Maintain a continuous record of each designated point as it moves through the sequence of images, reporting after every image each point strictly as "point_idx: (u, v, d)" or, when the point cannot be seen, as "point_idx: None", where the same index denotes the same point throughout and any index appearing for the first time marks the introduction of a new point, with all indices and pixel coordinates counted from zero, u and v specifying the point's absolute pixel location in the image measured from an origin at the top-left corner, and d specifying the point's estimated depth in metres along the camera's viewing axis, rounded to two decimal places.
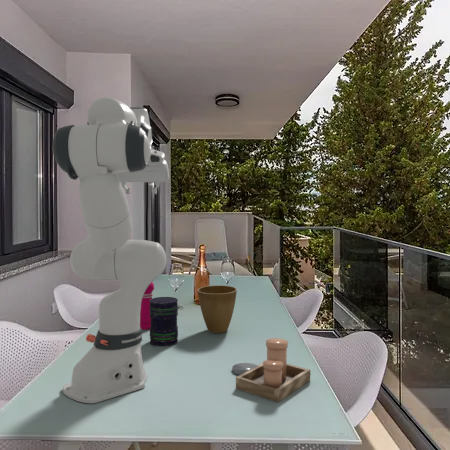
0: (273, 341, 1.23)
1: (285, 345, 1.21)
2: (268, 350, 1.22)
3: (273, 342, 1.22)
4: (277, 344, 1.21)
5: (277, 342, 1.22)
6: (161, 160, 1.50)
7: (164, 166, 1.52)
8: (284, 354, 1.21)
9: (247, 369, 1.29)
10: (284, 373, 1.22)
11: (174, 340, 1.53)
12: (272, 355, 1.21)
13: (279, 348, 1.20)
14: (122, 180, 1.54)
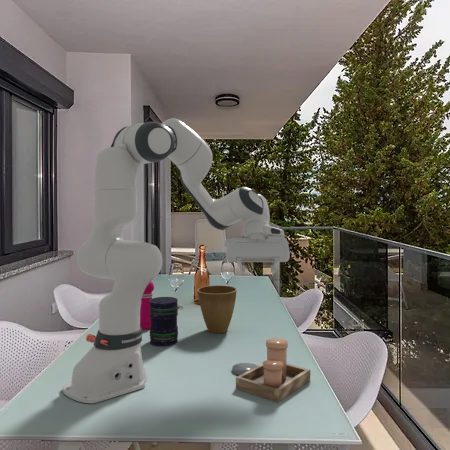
0: (273, 341, 1.23)
1: (285, 345, 1.21)
2: (268, 350, 1.22)
3: (273, 342, 1.22)
4: (277, 344, 1.21)
5: (277, 342, 1.22)
6: (282, 232, 1.42)
7: (285, 239, 1.41)
8: (284, 354, 1.21)
9: (247, 369, 1.29)
10: (284, 373, 1.22)
11: (174, 340, 1.53)
12: (272, 355, 1.21)
13: (279, 348, 1.20)
14: (239, 253, 1.39)
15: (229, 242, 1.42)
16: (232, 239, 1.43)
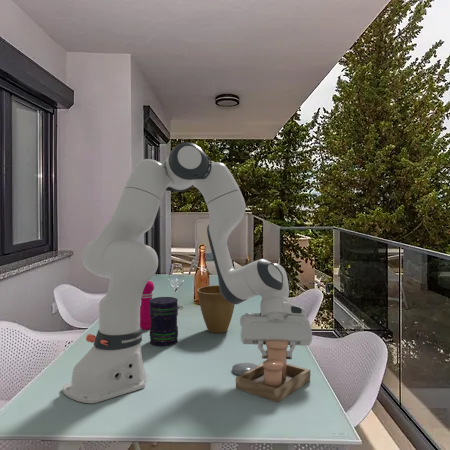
0: (273, 341, 1.23)
1: (285, 345, 1.21)
2: (268, 350, 1.22)
3: (273, 342, 1.22)
4: (277, 344, 1.21)
5: (277, 342, 1.22)
6: (303, 312, 1.28)
7: (307, 320, 1.27)
8: (284, 354, 1.21)
9: (247, 369, 1.29)
10: (284, 373, 1.22)
11: (174, 340, 1.53)
12: (272, 355, 1.21)
13: (279, 348, 1.20)
14: (256, 336, 1.25)
15: (245, 321, 1.28)
16: (248, 318, 1.29)
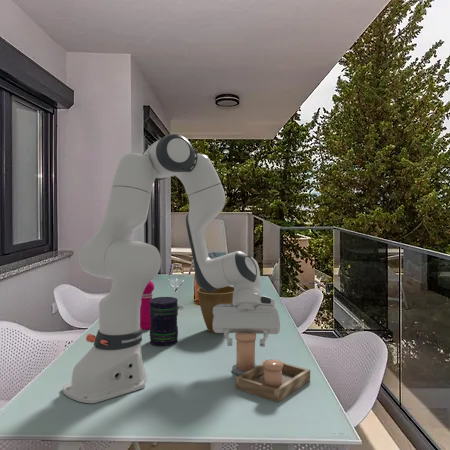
0: (242, 334, 1.30)
1: (253, 337, 1.27)
2: (237, 342, 1.29)
3: (242, 335, 1.28)
4: (245, 336, 1.27)
5: (246, 334, 1.29)
6: (273, 302, 1.35)
7: (275, 310, 1.34)
8: (252, 346, 1.28)
9: None
10: (252, 364, 1.28)
11: (174, 340, 1.53)
12: (241, 347, 1.27)
13: (247, 340, 1.27)
14: (226, 324, 1.32)
15: (216, 311, 1.35)
16: (220, 308, 1.36)
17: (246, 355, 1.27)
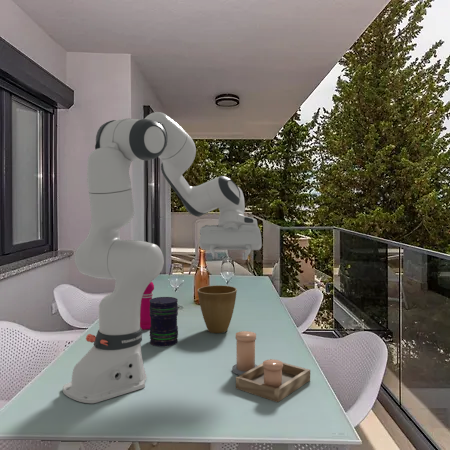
0: (242, 334, 1.30)
1: (253, 337, 1.27)
2: (237, 342, 1.29)
3: (242, 335, 1.28)
4: (245, 336, 1.27)
5: (246, 334, 1.29)
6: (255, 221, 1.46)
7: (257, 228, 1.45)
8: (252, 346, 1.28)
9: None
10: (252, 364, 1.28)
11: (174, 340, 1.53)
12: (241, 347, 1.27)
13: (247, 340, 1.27)
14: (212, 241, 1.43)
15: (203, 230, 1.46)
16: (206, 227, 1.47)
17: (246, 355, 1.27)
